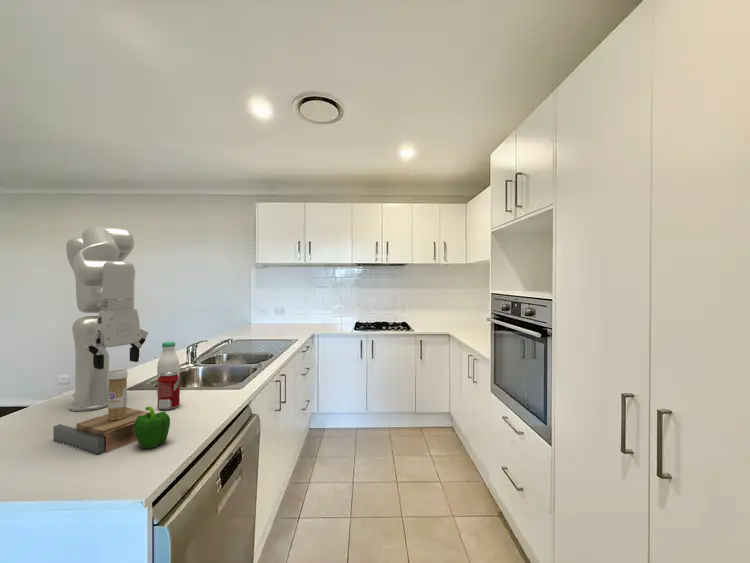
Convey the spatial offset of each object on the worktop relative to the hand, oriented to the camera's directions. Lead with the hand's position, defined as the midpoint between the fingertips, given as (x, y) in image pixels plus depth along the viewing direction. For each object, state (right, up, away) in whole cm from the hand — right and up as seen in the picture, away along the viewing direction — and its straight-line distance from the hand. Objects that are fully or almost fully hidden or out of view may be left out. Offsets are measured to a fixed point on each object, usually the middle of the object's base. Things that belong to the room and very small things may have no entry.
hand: (117, 364), depth 107 cm
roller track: (-3, -20, +1) cm, 21 cm away
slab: (0, -18, 0) cm, 18 cm away
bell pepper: (+13, -21, -5) cm, 25 cm away
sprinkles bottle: (0, -15, 0) cm, 15 cm away
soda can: (+1, -21, +24) cm, 32 cm away
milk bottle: (-9, -21, +42) cm, 47 cm away
